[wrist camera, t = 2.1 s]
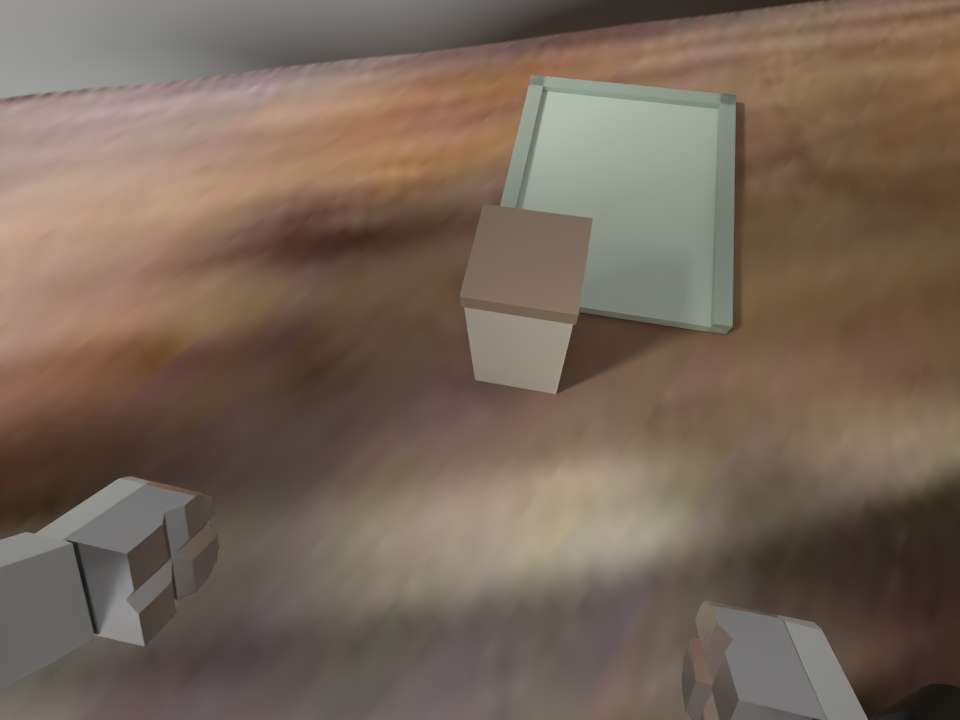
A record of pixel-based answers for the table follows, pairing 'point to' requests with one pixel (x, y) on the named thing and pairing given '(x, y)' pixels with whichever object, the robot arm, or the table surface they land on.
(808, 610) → the table surface
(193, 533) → the robot arm
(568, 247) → the canister
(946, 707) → the muzzle brake
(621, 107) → the tray
